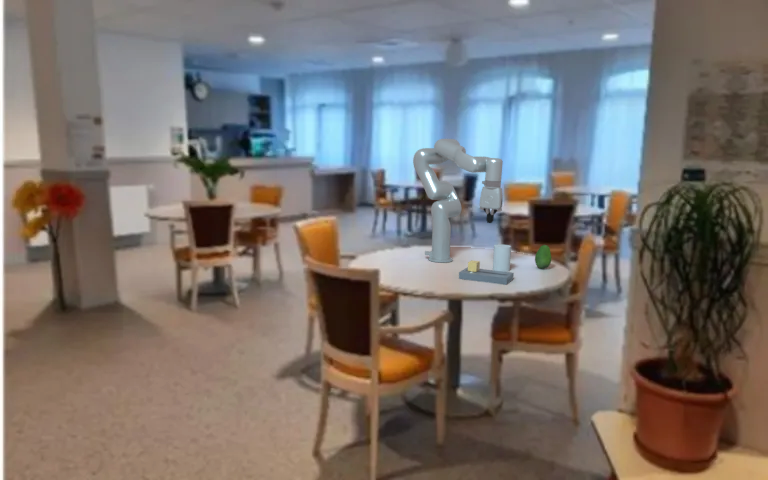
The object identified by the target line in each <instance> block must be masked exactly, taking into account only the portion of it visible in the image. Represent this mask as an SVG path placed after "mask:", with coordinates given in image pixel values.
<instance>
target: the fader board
mask: <svg viewBox="0 0 768 480" xmlns="http://www.w3.org/2000/svg"><path fill="white" fill-rule="evenodd" d="M458 279H459V280H464V281H465V280H466V281H474V282H481V283H488V284H489V283H491V284H498V285H505V286H507V285H508V284H509V283H510V282H512V281H513V280H514V272H510V271H508V272H503V271H494V270H493V269H486V268H485V269H483V268H480V270H478V271H477V272H473V271H468V266H467V267H466V268H464V269H462V270H461V271H459V272H458Z"/></svg>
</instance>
